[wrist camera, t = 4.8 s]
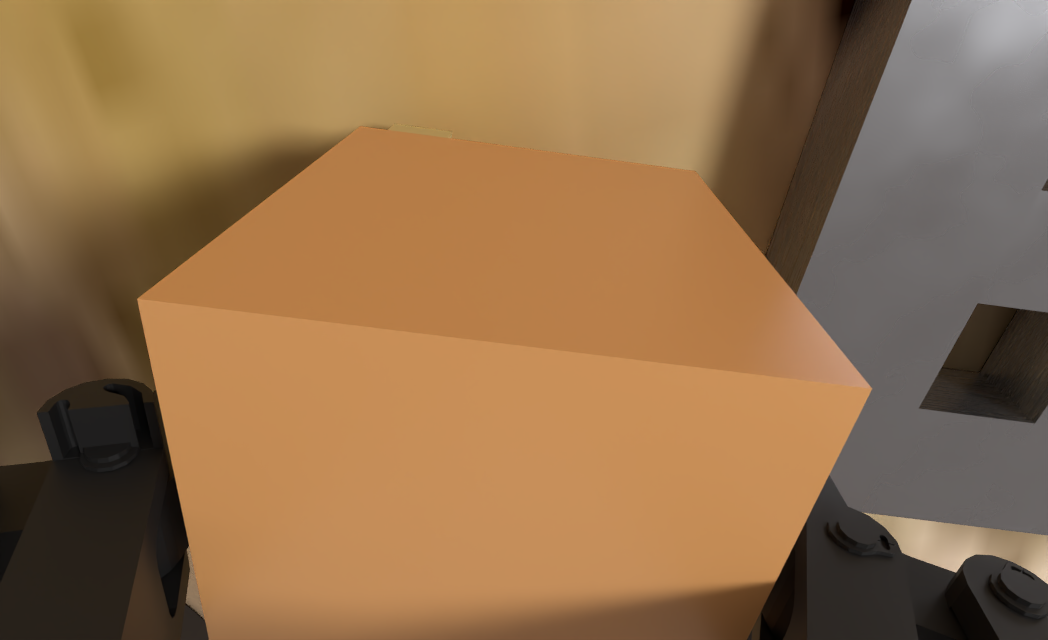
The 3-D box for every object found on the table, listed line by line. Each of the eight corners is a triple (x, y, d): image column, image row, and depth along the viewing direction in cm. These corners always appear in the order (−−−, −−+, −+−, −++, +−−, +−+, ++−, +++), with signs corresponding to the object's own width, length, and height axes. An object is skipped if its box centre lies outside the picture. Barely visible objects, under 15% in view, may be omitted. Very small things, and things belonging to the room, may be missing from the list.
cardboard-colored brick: (379, 381, 18) (230, 741, 10) (382, 109, 14) (137, 298, 6) (612, 409, 19) (674, 784, 10) (677, 149, 15) (871, 389, 6)
